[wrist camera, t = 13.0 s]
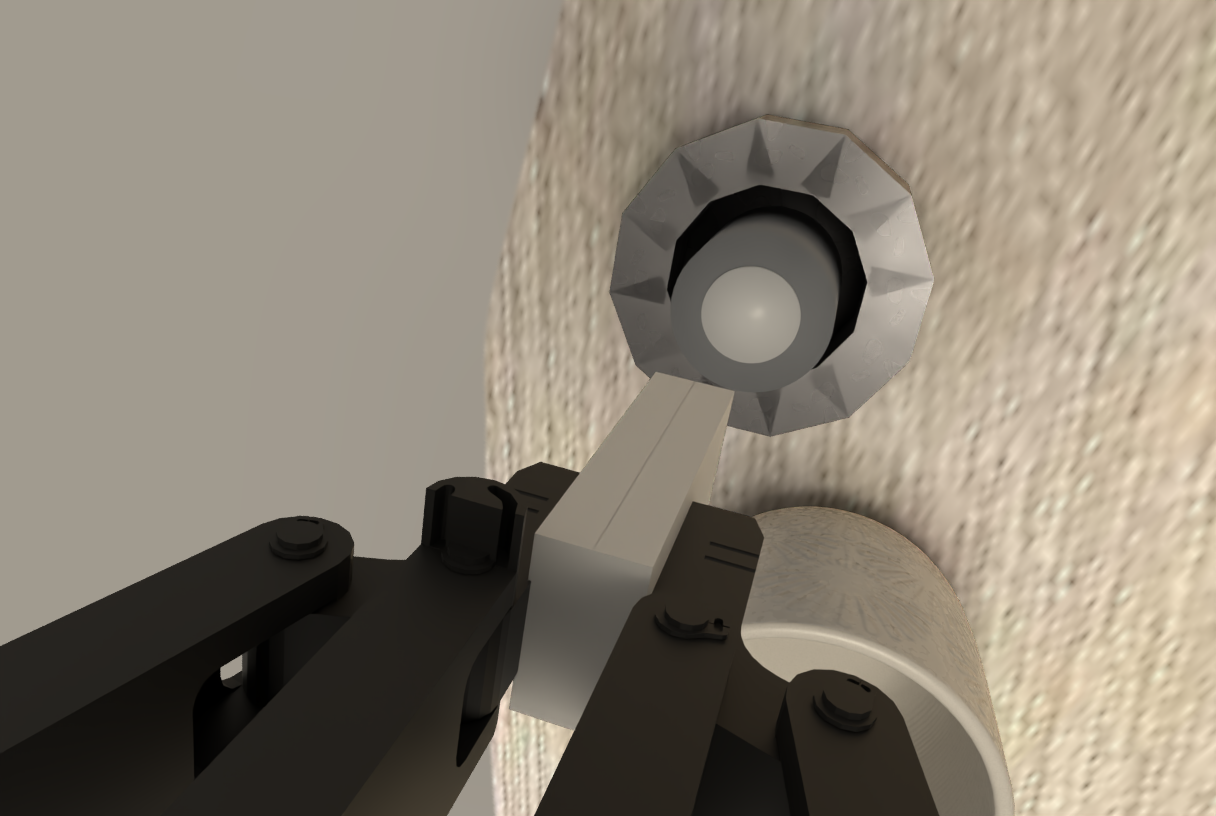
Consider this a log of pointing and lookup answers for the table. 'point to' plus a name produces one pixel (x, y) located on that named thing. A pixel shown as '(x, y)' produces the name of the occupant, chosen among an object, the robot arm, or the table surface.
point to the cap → (759, 300)
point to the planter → (881, 641)
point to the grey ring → (813, 184)
